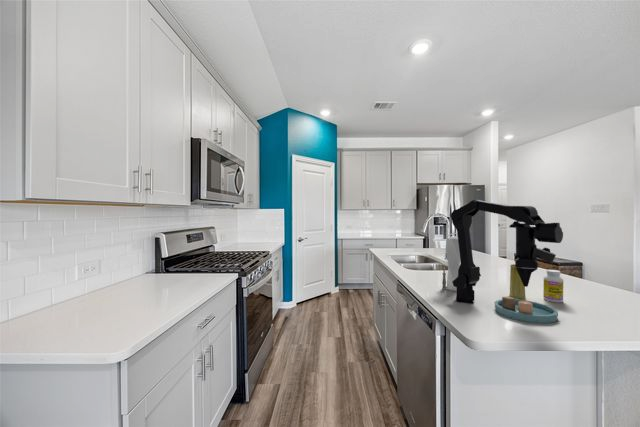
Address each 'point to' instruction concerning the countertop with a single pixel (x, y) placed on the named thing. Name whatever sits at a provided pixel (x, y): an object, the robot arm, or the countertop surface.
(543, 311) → the teal round plate
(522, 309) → the bead terracotta
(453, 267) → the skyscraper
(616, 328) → the countertop surface
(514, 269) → the vase
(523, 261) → the robot arm
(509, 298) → the bead walnut
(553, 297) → the supplement bottle
